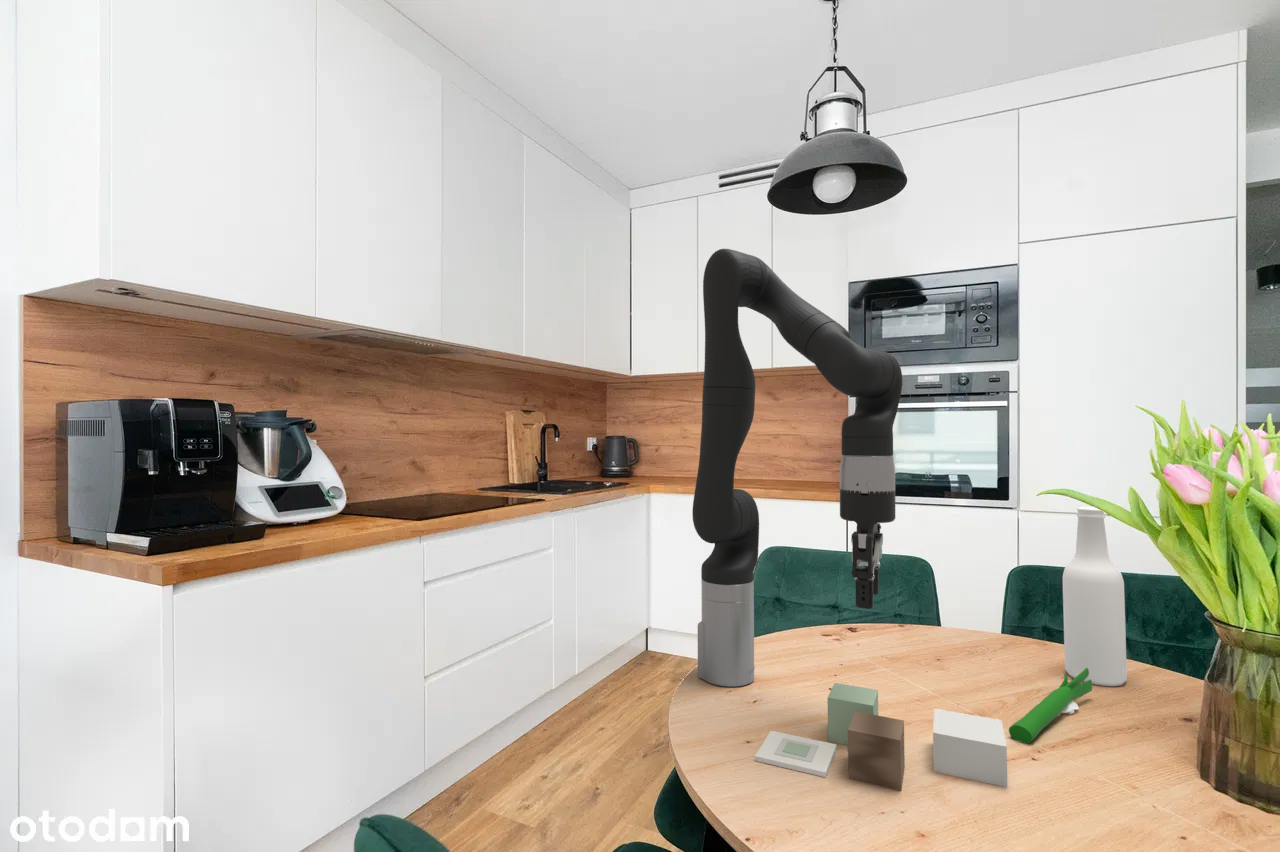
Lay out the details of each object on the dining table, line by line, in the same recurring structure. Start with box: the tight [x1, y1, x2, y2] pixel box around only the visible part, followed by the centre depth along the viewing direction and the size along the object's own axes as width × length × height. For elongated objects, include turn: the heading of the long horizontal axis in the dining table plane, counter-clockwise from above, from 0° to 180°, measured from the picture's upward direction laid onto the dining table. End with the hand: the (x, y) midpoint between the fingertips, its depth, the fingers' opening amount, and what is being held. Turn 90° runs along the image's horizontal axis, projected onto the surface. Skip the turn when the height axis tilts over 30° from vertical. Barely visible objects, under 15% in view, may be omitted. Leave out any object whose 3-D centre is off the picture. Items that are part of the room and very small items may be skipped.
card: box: [754, 730, 838, 778], centre depth 81 cm, size 9×8×1 cm
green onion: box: [1008, 668, 1093, 744], centre depth 94 cm, size 5×3×30 cm
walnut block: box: [847, 711, 906, 792], centre depth 77 cm, size 6×6×6 cm
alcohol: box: [1062, 506, 1128, 687], centre depth 108 cm, size 9×9×30 cm
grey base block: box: [932, 708, 1008, 788], centre depth 79 cm, size 8×8×5 cm
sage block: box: [827, 682, 879, 746], centre depth 86 cm, size 6×6×6 cm
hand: (867, 600), depth 88 cm, fingers open, 8 cm apart
